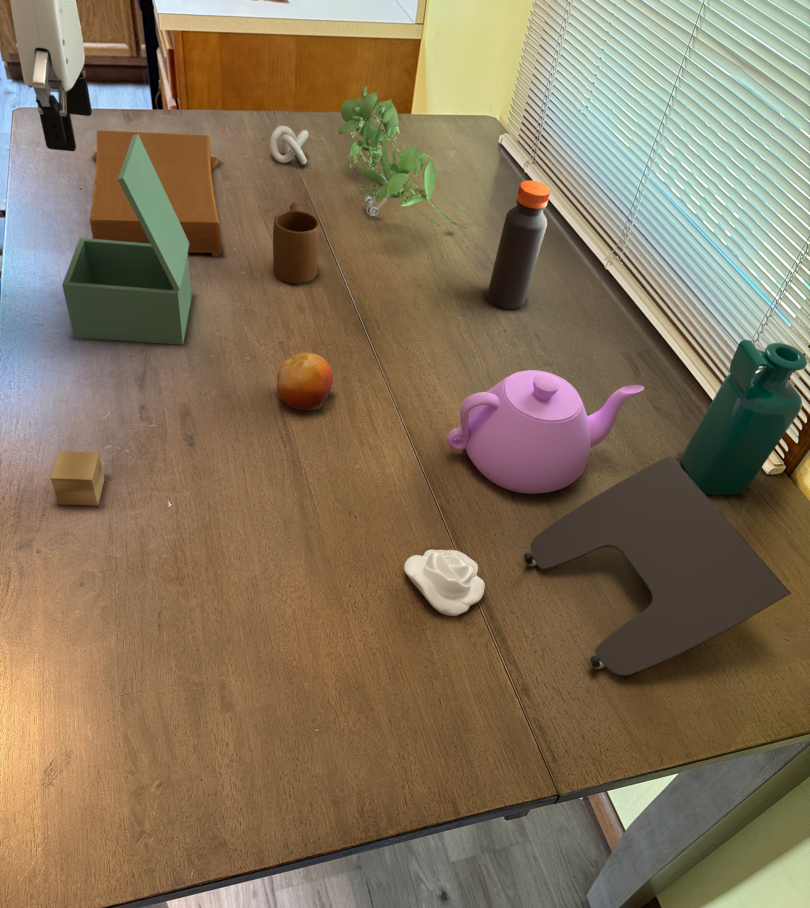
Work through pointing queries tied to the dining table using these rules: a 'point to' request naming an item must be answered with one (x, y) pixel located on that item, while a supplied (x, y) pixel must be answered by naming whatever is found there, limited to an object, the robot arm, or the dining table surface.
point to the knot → (288, 144)
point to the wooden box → (181, 176)
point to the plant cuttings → (385, 153)
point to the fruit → (305, 381)
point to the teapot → (533, 431)
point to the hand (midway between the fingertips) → (70, 130)
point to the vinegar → (519, 246)
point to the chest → (124, 294)
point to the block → (78, 478)
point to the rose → (446, 580)
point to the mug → (295, 245)
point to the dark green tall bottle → (745, 419)
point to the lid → (154, 211)
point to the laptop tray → (664, 564)
